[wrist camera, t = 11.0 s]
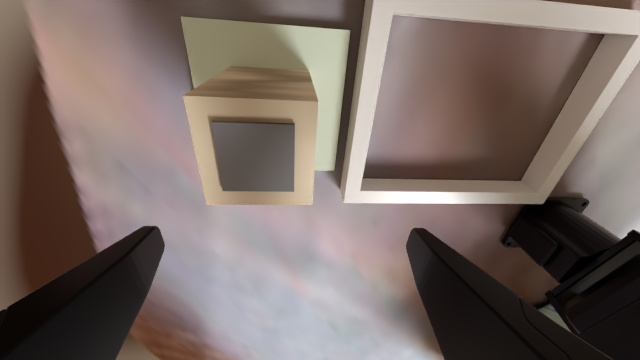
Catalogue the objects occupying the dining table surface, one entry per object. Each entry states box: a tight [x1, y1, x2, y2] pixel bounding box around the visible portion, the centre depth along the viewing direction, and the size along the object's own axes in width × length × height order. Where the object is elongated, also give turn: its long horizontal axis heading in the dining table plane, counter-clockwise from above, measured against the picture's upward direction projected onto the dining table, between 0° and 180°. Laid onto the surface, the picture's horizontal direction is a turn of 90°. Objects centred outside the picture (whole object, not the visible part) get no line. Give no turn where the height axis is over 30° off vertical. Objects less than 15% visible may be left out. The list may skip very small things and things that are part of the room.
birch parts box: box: [183, 66, 318, 205], centre depth 14 cm, size 5×5×8 cm
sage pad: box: [180, 16, 350, 171], centre depth 18 cm, size 10×10×1 cm
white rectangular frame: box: [340, 0, 640, 204], centre depth 19 cm, size 18×14×2 cm
